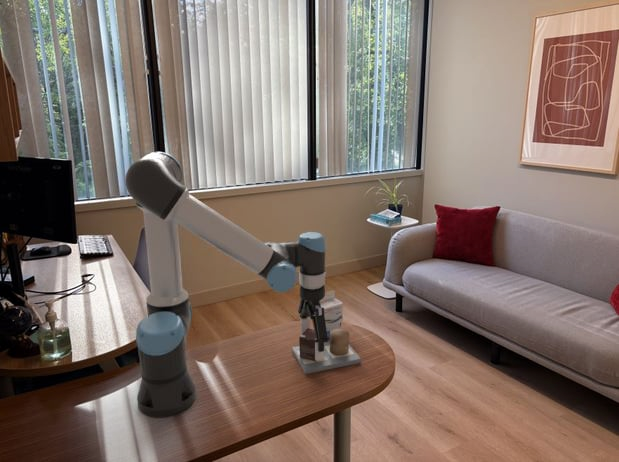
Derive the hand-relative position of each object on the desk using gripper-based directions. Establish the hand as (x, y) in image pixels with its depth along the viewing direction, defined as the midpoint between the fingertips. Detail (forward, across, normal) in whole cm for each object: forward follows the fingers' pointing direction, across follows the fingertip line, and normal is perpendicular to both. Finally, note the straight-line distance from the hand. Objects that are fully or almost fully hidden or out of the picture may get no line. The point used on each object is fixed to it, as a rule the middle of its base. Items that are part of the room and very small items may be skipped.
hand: (312, 347), depth 142 cm
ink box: (+4, +13, -10) cm, 17 cm away
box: (+3, 0, 0) cm, 3 cm away
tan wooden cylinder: (+3, 0, -9) cm, 9 cm away
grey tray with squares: (+4, 0, -4) cm, 6 cm away
